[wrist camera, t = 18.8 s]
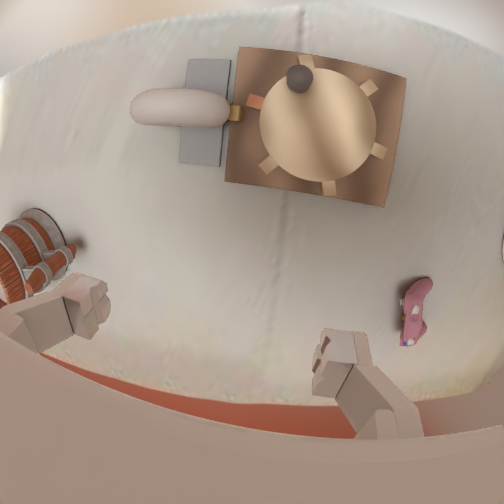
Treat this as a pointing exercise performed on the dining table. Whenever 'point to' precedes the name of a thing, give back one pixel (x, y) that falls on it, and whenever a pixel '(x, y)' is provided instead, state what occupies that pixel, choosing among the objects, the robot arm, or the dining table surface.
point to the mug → (31, 256)
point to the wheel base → (253, 149)
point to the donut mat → (204, 138)
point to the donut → (180, 108)
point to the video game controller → (414, 312)
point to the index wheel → (317, 124)
